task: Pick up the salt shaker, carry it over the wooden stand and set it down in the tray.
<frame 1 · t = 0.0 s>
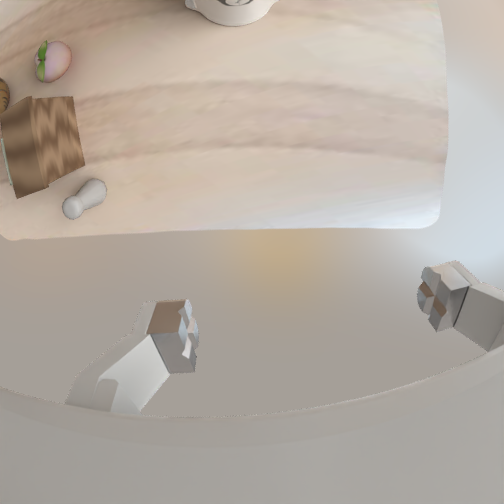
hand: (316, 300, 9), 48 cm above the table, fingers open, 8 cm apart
salt shaker: (99, 188, 54), on the table
ceramic vessel: (5, 97, 40), on the table
wooden stand: (51, 141, 47), on the table
decorative fruit: (66, 62, 39), on the table
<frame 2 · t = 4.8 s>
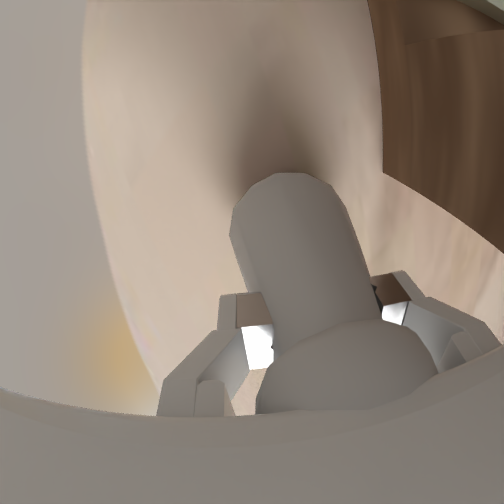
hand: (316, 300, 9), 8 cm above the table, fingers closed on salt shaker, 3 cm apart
salt shaker: (283, 212, 16), on the table, touching gripper
wooden stand: (473, 62, 11), on the table
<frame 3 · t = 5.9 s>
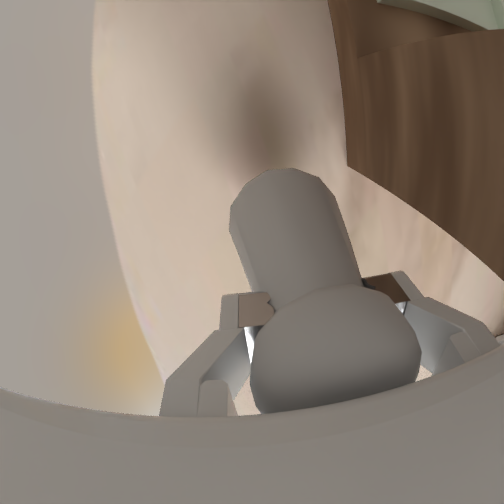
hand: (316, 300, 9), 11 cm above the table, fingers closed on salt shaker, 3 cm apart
salt shaker: (279, 207, 17), point 2 cm above the table, touching gripper
wooden stand: (432, 63, 14), on the table
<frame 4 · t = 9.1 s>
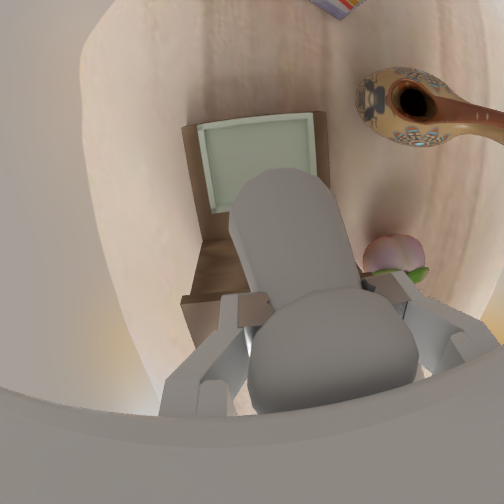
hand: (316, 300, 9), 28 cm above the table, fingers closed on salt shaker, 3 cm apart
salt shaker: (279, 206, 17), point 19 cm above the table, touching gripper
ceramic vessel: (382, 104, 30), on the table
wooden stand: (264, 216, 37), on the table
tray: (259, 160, 31), resting on wooden stand
decorative fruit: (379, 247, 40), on the table
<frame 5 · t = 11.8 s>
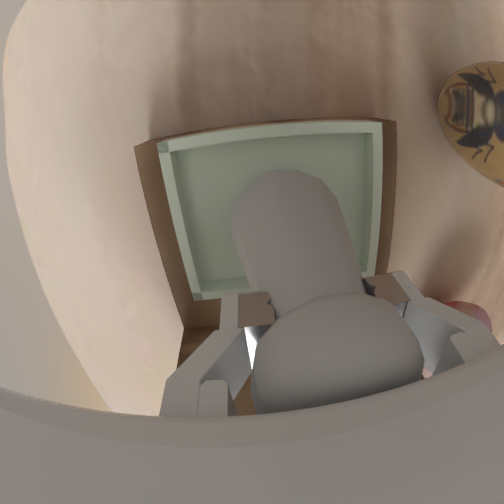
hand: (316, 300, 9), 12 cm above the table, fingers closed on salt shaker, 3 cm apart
salt shaker: (280, 208, 17), point 3 cm above the table, touching gripper, tray
ceramic vessel: (460, 115, 17), on the table
wooden stand: (280, 285, 24), on the table
tray: (277, 205, 17), resting on wooden stand
decorative fruit: (430, 311, 27), on the table
when the fingers open (12 cm above the table, at t = 12.6 s): salt shaker stays where it is, resting on tray.
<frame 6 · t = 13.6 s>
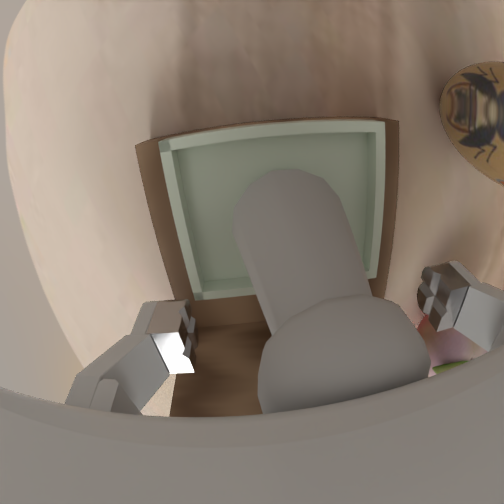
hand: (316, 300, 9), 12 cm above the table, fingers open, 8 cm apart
salt shaker: (282, 207, 17), point 3 cm above the table, touching tray
ceramic vessel: (462, 115, 17), on the table
wooden stand: (281, 285, 23), on the table
tray: (280, 205, 17), resting on wooden stand
decorative fruit: (431, 311, 27), on the table
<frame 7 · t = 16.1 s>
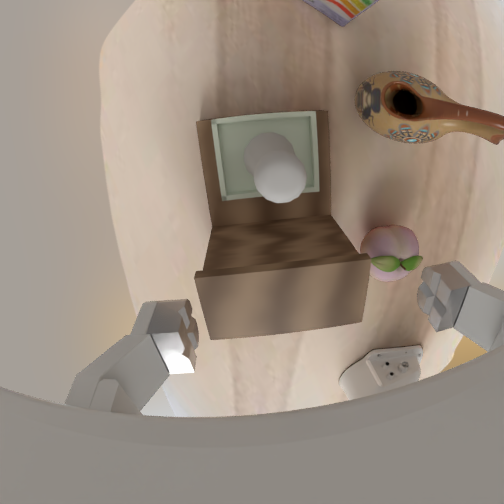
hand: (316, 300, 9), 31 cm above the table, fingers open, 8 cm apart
salt shaker: (267, 153, 33), point 3 cm above the table, touching tray
ceramic vessel: (380, 105, 33), on the table
wooden stand: (269, 205, 40), on the table
tray: (266, 153, 33), resting on wooden stand
decorative fruit: (376, 237, 43), on the table
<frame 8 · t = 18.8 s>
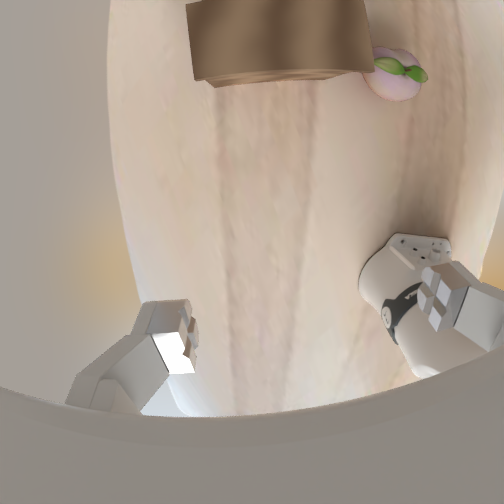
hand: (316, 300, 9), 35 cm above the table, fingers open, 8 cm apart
wooden stand: (264, 32, 31), on the table
decorative fruit: (377, 76, 34), on the table
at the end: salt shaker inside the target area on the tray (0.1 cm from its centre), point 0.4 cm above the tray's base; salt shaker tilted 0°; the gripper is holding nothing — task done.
